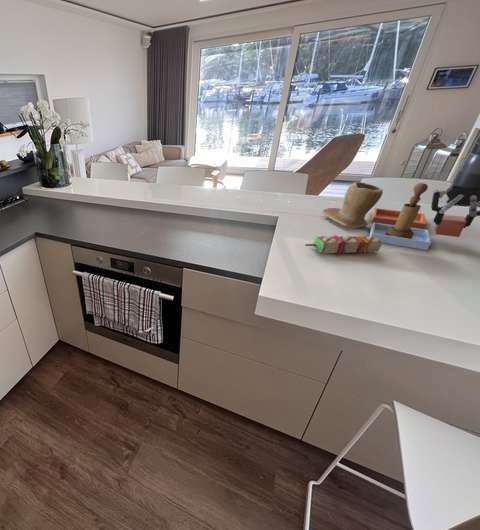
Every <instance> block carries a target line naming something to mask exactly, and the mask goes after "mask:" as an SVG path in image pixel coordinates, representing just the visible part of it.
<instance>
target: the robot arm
mask: <svg viewBox="0 0 480 530" xmlns="http://www.w3.org/2000/svg"><path fill="white" fill-rule="evenodd" d="M445 195H446V196H447V198H448V199H446V201H445V202H444V203H443V204H442V205H441V206H439V203H440V202H439V201H440V199H442V198H444V196H445ZM479 202H480V133H479V134H478V136H477V137H476V138H475V140H474V142H473V144H472V146H471V148H470V150H469V152H468V154H467V155H466V157H465V158H464V160H463V162H462V163H461V165H460V166H459V170H458V172H457V173H456V176H455V177H454V180H453V182H452V184H451V186H450V187H449V188H447V189H445V190H438V189H434V190H433V192H432V198H431V204H430V208H431V211H433V212H436V214H435V216H434V218H433V223H434V224H435V226H436V225H439V224H440V222H441V219H442V218H443V216H444V215H445V212H447V211H448V210H449V209H451V208H452V207H453V206H465V207H468V213H467V214H466V215H465V216H464V218H465V220H466V224H465V226H464V228H463V229H466V228H468V227H470V226H471V225H472V223H473V221H474V219H475V218H476V217H480V210H478V203H479Z"/></svg>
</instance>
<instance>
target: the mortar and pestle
mask: <svg viewBox="0 0 480 530" xmlns="http://www.w3.org/2000/svg"><path fill="white" fill-rule="evenodd" d="M428 188H429V186H428V184H427V183H424V182H422V183H421V182H420V183H416V184H415V185H414V187H413V196H411V197H410V199H409V203H404V204H403V206H402V208H401V210H400V211H401V213H400V215H399V217H398V220H397V222H396V224H395V226H393V227H390V228H388V230H387V232H386V234H385V235H388V236H395V237H401V238H407V239H412V237H413V235H414V232H413V231H412V230H411V229H410V228H411V226H412V224H413V222H414V220H415V218H416V216H417V213H419V211H420V209H421V208H422V206H421V205H420V204H418V203H419V202H420V201H421V196H422V194H424V193H425V192H426V191H428Z"/></svg>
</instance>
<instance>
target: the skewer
mask: <svg viewBox="0 0 480 530" xmlns="http://www.w3.org/2000/svg"><path fill="white" fill-rule="evenodd" d="M382 244H383V243H382V241H380V240H379V239H377V238H376V237H374V236H370V235H365V236H364V235H344V236H343V235H342V236H341V235H340V236H339V235H336V234H335V235H333V236H332V235H330V236H327V235H319V236H318V235H317V236H315V237H314V241H313V242H312V243H305V244H304V246H305V247H312V248H314V249H315V250H317V251H318V252H319V253H322V254H344V253H347V254H350V253H353V254H354V253H355V254H356V253H357V254H360V253H365V254H366V253H377V252H379V251H380V249H381V247H382Z"/></svg>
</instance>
